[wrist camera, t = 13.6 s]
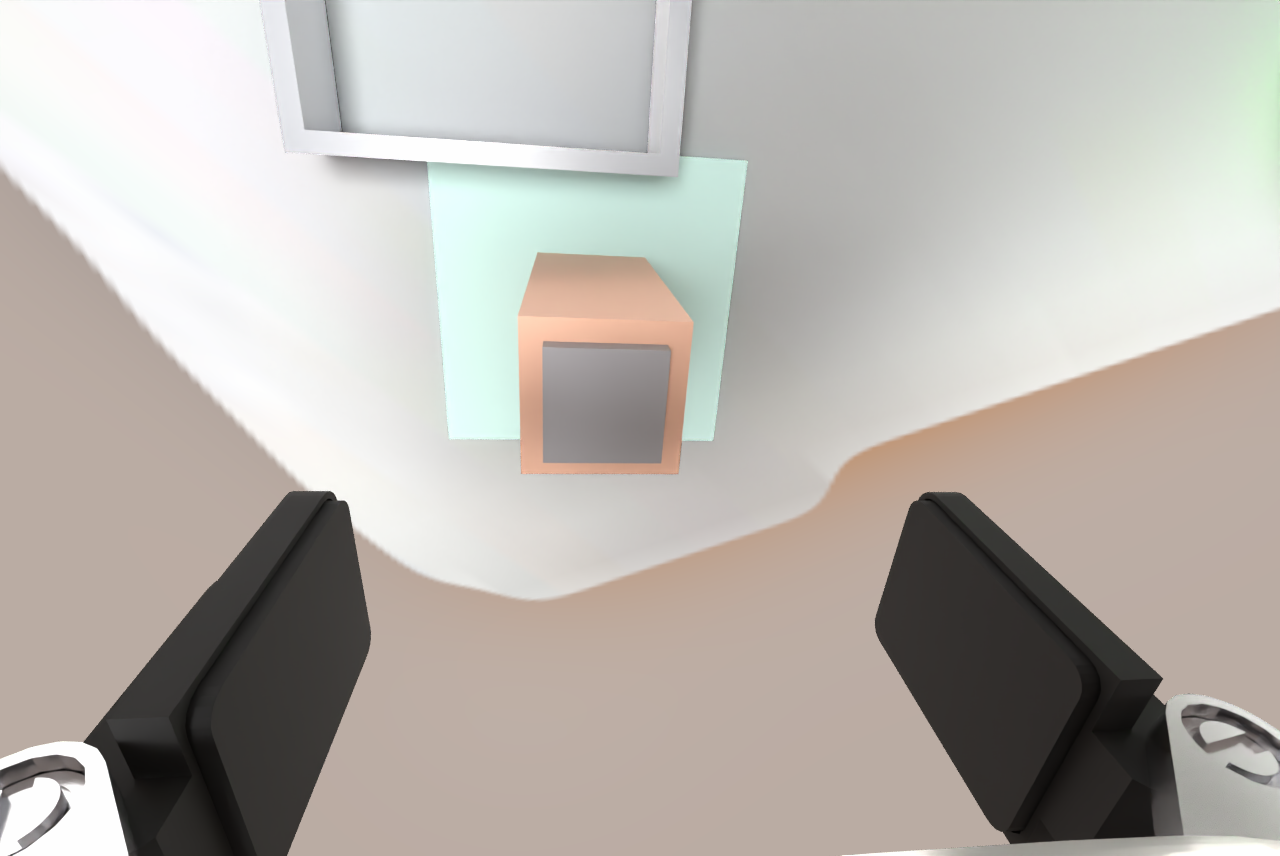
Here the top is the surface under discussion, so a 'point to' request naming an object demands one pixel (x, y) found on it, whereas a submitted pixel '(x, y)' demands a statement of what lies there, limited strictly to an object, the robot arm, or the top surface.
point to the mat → (574, 224)
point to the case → (316, 129)
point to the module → (601, 367)
